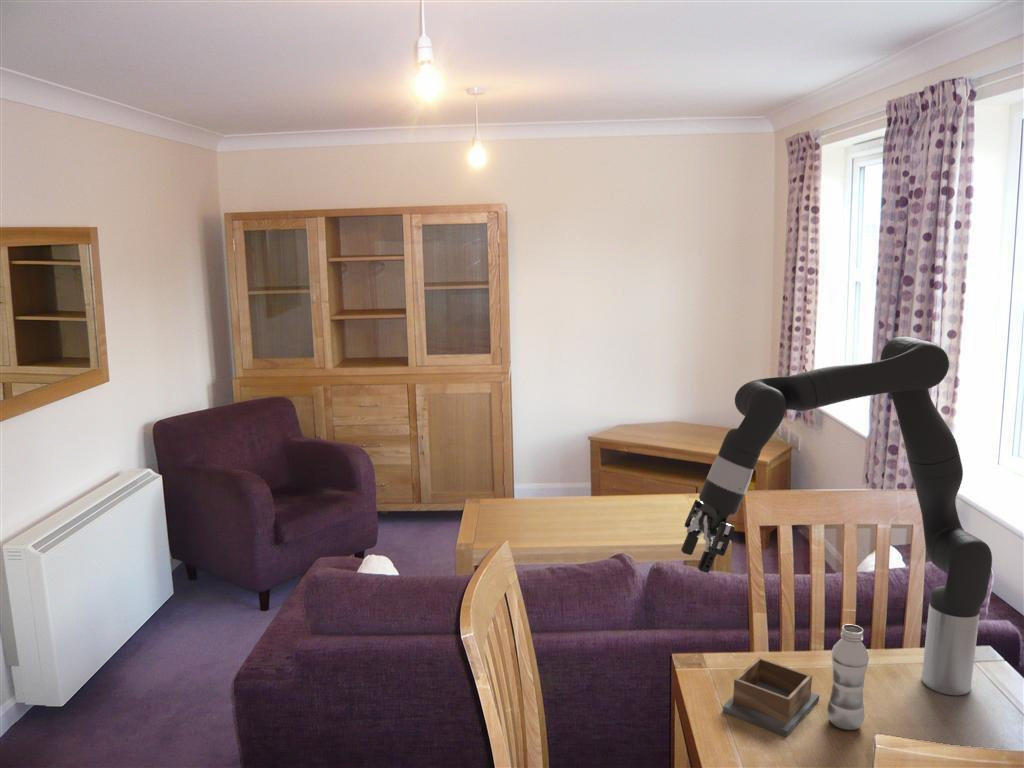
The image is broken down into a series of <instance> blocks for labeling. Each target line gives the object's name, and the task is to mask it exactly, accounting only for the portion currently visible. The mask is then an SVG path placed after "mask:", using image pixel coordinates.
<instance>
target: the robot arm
mask: <svg viewBox="0 0 1024 768" xmlns="http://www.w3.org/2000/svg"><path fill="white" fill-rule="evenodd" d="M879 359H880V360H878V361H873V362H866V363H857V364H856V363H855V364H843V365H831V366H826V367H821V368H820V367H819V368H817V369H816V368H815V369H811V370H808V371H805V372H801V373H797V374H794V375H788V376H774V377H767V378H765V377H764V378H760V379H759V378H758V379H755V380H751V381H748V382H747V383H745V384H743V385H742V386H740V387H739V389H738V390H737V391H736V393H735V396H734V405H735V407H736V409H737V410H738V412H739V413H740V414H741V415H742V416H744V418H743V420H742V421H741V422H740V424H739V426H738V428H732V429H729V430H728V431H727V433H726V435H725V437H724V438H723V442H722V443H721V446H720V449H719V451H718V453H717V456H716V458H715V460H714V461H713V463H712V465H711V467H710V469H709V471H708V474H707V476H706V479H705V481H704V483H703V486H702V488H701V490H700V492H699V493H700V494H699V496H698V499H695V500H694V502H693V504H692V506H691V509H690V511H689V513H688V516H687V517H686V520H685V522H684V527H685V528H686V533H687V535H686V537H685V539H684V542H683V543H682V547H681V550H680V551H681V552H682V553H683V554H686V555H687V556H692V555H693V554H694V551H695V548H696V546H697V544H698V542H699V537H700V536H701V535H702V534H703V540H704V541H705V546H704V550H703V552H702V555H701V557H700V560H699V562H698V565H697V567H696V568H697V570H698V571H700V572H702V573H706V574H707V573H709V572H710V570H711V568H712V566H713V564H714V562H715V559H716V557H717V556H722V557H723V556H725V554H726V552H727V549H728V547H729V544H730V541H731V538H732V536H733V534H734V531H735V525H733V524H730V523H728V518H729V516H730V515H732V516H733V515H737V514H738V511H739V509H740V507H741V504H742V501H743V500H744V497H745V495H746V492H747V490H748V488H749V485H750V483H751V480H752V476H753V473H754V471H755V470H754V469H755V467H756V465H757V463H758V460H759V458H760V455H761V452H762V449H763V448H764V447H765V446H766V445H767V443H768V442H769V441H770V439H771V438H772V436H773V435H774V434H775V433H776V431H777V429H779V426H780V425H781V423H782V422H783V419H784V417H785V414H786V410H787V411H788V410H791V411H792V410H793V411H797V412H805V411H810V410H814V409H818V408H822V407H825V406H830V405H834V404H837V403H841V402H845V401H850V400H853V399H854V400H855V399H859V398H864V397H869V396H870V397H871V396H876V395H882V394H888V393H889V394H890V397H891V399H892V403H893V405H894V408H895V409H894V410H895V412H896V415H897V419H898V424H899V428H900V431H901V435H902V439H903V442H904V447H905V453H906V457H907V462H908V465H909V466H908V467H909V469H910V470H909V471H910V473H911V477H912V479H913V483H914V487H915V492H916V497H917V501H918V505H919V508H920V512H921V513H920V514H921V518H922V527H923V537H924V542H925V551H926V554H927V556H928V559H929V560H930V562H931V563H932V564H933V565H934V566H935V567H936V568H938V569H940V571H943V572H944V573H946V574H947V576H946V581H945V585H939V586H936V587H933V588H932V590H931V591H930V595H929V603H928V611H927V621H926V622H927V623H926V633H925V642H924V643H925V644H924V650H923V652H924V653H923V661H922V671H921V681H922V683H923V684H924V685H925V686H926V687H928V688H929V689H930V690H933V691H935V692H938V693H939V694H944V695H948V696H964V695H967V694H969V693H970V692H971V690H972V680H973V673H974V667H975V666H974V664H975V657H976V656H975V655H976V647H977V641H978V640H977V638H978V631H979V621H980V614H981V608H982V605H983V604H984V601H985V600H986V597H987V594H988V589H989V585H990V584H989V583H990V578H991V572H992V566H993V554H992V550H991V547H989V545H988V544H987V543H986V542H985V541H983V540H982V539H980V538H978V537H976V536H975V535H973V534H971V533H969V532H967V531H965V530H964V528H963V526H962V524H961V521H960V518H959V514H958V509H957V507H956V506H957V505H956V501H957V495H958V493H959V490H960V488H961V484H962V482H963V478H964V477H963V475H964V471H963V465H962V459H961V455H960V452H959V447H958V443H957V441H956V438H955V437H954V434H953V433H952V430H951V429H950V428H949V426H948V424H947V423H946V422H945V420H944V418H943V417H942V415H941V413H940V412H939V411H938V409H937V408H936V406H935V404H934V402H933V400H932V397H931V395H930V392H929V389H931V388H934V387H935V386H938V385H939V384H940V383H942V382H943V380H944V379H945V378H946V376H947V374H948V371H949V369H950V368H949V367H950V361H949V357H948V353H947V352H946V351H945V349H943V348H942V347H941V346H939V345H938V344H935V343H934V342H931V341H928V340H923V339H919V338H915V337H910V336H896V337H893V338H891V339H889V340H888V341H887V343H886V344H885V345H884V346H883V348H882V351H881V354H880V358H879ZM721 544H722V545H721Z"/></svg>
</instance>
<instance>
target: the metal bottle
mask: <svg viewBox="0 0 1024 768" xmlns="http://www.w3.org/2000/svg"><path fill="white" fill-rule="evenodd" d="M840 638H841V639H839V640H838V641H837V642H836V643H834V645H833V647H832V650H831V661H832V663H831V664H832V687H831V691H830V696H829V697H830V698H829V700H828V703H827V708H826V710H827V717H828V719H829V721H830V723H831V724H832V725H833V726H835V727H837V728H838V729H840V730H846V731H854V730H855V731H856V730H857V729H859V728H860V727H862V726H863V723H864V720H865V717H866V716H865V715H866V714H865V708H864V707H865V706H864V683H865V676H866V672H867V668H868V664H869V659H870V655H869V652H868V650H867V649H866V646H865V645H864V644H863V642H862V641H863V640H864V629H863V627H861V626H859V625H856V624H850V623H848V624H844V625H842V627H841V632H840Z"/></svg>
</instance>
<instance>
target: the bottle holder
mask: <svg viewBox="0 0 1024 768" xmlns="http://www.w3.org/2000/svg"><path fill="white" fill-rule="evenodd" d="M812 680H813V675H811V674H808V673H805V672H804V671H803V672H802V671H800V670H797V669H794V668H790V667H788V666H785V665H783V664H779V663H777V662H774V661H771V660H768V659H766V658H764V657H763V658H762V657H760V656H758V657H757V658H756V659H755V660H754V661H753V662H752V663H751V664H750V665H748V667H746V668H745V669H744V670H743V671H742V672H741V673H740V674H738V675H737V676H736V677H735V678H734V680H733V696H732V697H731V698H730V699H729V700H728V701H727V702H726V703H725V704H724V705H723V706H722V712H724V713H726V714H728V715H731V716H733V717H735V718H738V719H740V720H743V721H745V722H747V723H751V724H754V725H755V726H758V727H760V728H764V729H765V730H768V731H770V732H773V733H776V734H778V735H780V736H783V737H786V738H787V737H788V736H789V735H790V734H791V733H792V732H793V731H794V730H795V728H797V726H798V725H799V724H800V723H799V722H801V721H803V720H804V718H805V717H806V716H807V715H808V714H809V713H810V711H811V710H812V709H813V708H814V707H815V706H816V705H817V704H818V702H819V701H820V694H818V693H815V692H812V684H813V683H812V682H813V681H812ZM798 723H799V724H798ZM791 731H792V732H791Z"/></svg>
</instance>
